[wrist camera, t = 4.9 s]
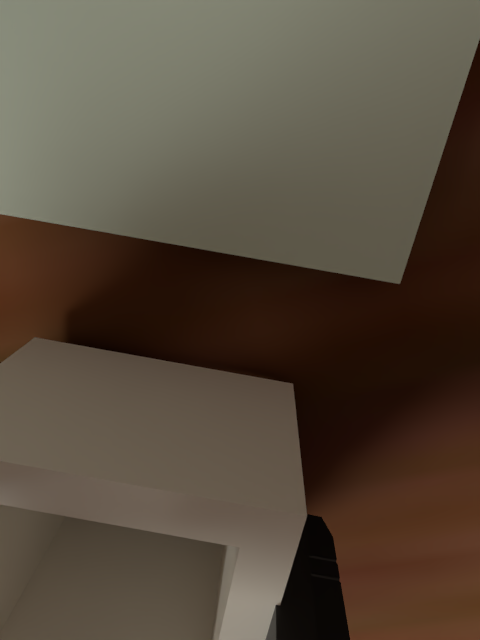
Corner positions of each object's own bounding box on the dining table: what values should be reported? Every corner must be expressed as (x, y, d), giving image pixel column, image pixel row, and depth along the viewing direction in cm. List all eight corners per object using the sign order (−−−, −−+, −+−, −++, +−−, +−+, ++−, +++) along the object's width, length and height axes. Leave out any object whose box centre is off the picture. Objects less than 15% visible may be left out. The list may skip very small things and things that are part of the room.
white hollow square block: (292, 383, 10) (307, 516, 6) (248, 565, 12) (239, 740, 9) (34, 337, 10) (-104, 442, 6) (39, 528, 12) (-60, 686, 9)
